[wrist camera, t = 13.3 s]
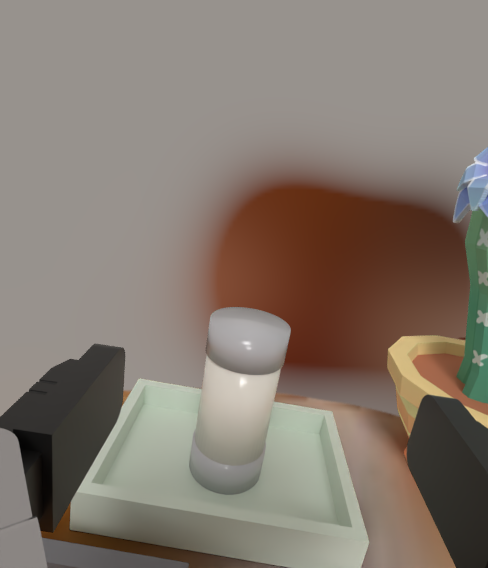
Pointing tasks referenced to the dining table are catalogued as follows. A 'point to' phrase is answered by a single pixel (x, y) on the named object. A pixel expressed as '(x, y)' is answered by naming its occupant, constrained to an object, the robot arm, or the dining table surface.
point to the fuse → (237, 398)
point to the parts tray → (219, 507)
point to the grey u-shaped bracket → (99, 557)
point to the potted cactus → (447, 351)
